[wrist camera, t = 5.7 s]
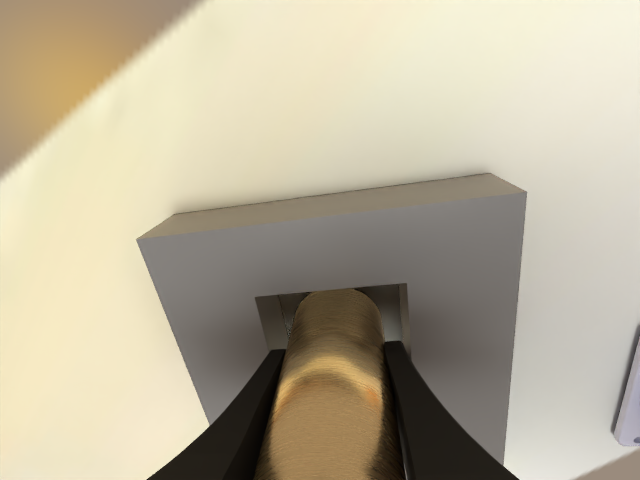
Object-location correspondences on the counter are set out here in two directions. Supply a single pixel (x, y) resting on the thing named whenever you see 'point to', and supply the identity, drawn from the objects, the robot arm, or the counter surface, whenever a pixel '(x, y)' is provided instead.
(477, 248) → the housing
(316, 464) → the pin
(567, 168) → the counter surface
